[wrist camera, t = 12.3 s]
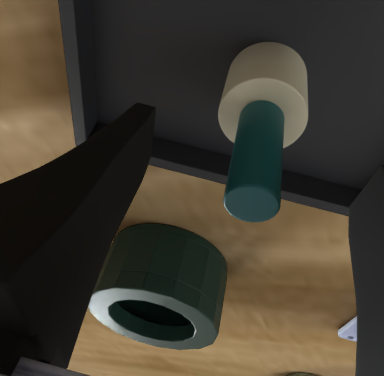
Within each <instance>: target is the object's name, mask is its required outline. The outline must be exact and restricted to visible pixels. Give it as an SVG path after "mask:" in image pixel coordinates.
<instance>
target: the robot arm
mask: <svg viewBox="0 0 384 376" xmlns="http://www.w3.org/2000/svg"><path fill="white" fill-rule="evenodd" d="M155 113H156V107H154V106H150V105H146V104H142V103H138V102H137V103H136V104H134V105H133V106H131V107H130V108H129V109H128V110H126V111H125V112H124V113H123V114H121V115H120V116H119V117H118V118H116V119H115V120H114V121H112V122H111V123H110V124H109V125H107V126H106V127H104V128H103V129H102V130H100V131H99V132H97V133H96V134H95V135H93V136H92V137H90V138H89V139H87V140H86V141H84V142H83V143H81V144H80V145H78V146H77V147H75V148H73V149H72V150H70V151H69V152H67V153H65V154H63V155H62V156H60V157H58V158H56V159H55V160H53V161H51V162H49V163H47V164H45V165H43V166H41V167H39V168H37V169H35V170H32V171H30V172H28V173H25V174H23V175H21V176H18V177H16V178H14V179H11V180H9V181H7V182H4V183H1V184H0V376H89V375H86V374H82V373H78V372H75V371H71V370H68V369H66V368H68V365H69V361H70V358H71V355H72V352H73V349H74V346H75V343H76V340H77V337H78V334H79V331H80V328H81V325H82V322H83V319H84V316H85V313H86V311H87V308H88V305H89V302H90V299H91V296H92V293H93V291H94V288H95V285H96V283H97V280H98V277H99V274H100V272H101V269H102V266H103V264H104V261H105V258H106V256H107V253H108V250H109V248H110V245H111V243H112V241H113V238H114V236H115V234H116V232H117V230H118V228H119V226H120V224H121V222H122V220H123V218H124V216H125V214H126V212H127V210H128V208H129V206H130V204H131V202H132V200H133V198H134V196H135V194H136V192H137V190H138V188H139V186H140V184H141V182H142V180H143V178H144V175H145V172H146V169H147V167H148V164H149V161H150V158H151V155H152V145H153V134H154V124H155ZM349 244H350V253H351V261H352V270H353V278H354V286H355V294H356V306H357V316H356V317H355V318H353V319H352V320H351V321H350V322H348V323H347V324H346V325H345V326H343V327H342V328H341V329H340V330H338V335H339V336H340V337H341V338H345V339H348V340H352V341H356V342H357V350H356V375H355V376H384V165H381V166H380V168H379V169H378V170H377V171H376V173H375V174H374V175H373V177H372V178H371V179H370V181H369V182H368V183H367V184H366V186H365V187H364V188H363V190H362V191H361V192H360V193H359V195H358V196H357V197H356V199H355V200H354V201H353V203H352V204H351V205H350V209H349Z"/></svg>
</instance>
